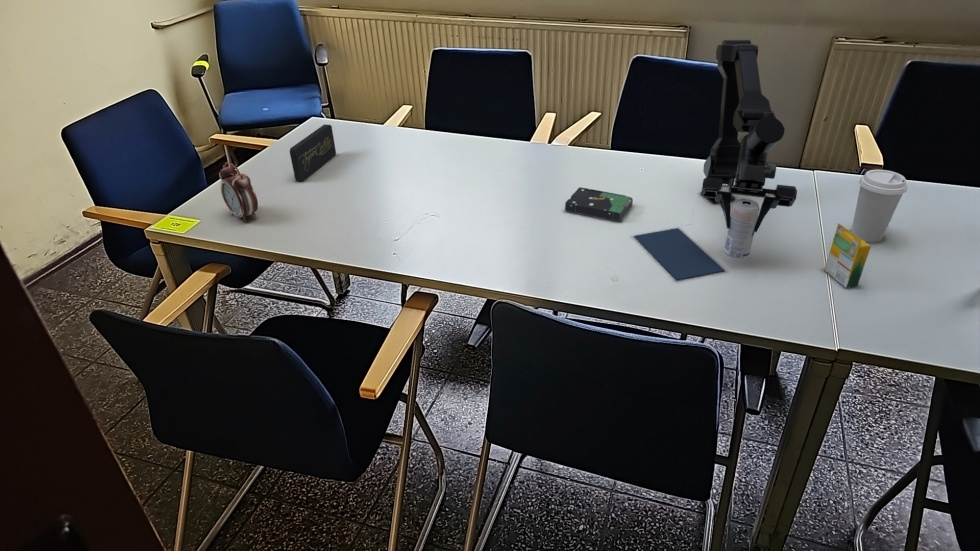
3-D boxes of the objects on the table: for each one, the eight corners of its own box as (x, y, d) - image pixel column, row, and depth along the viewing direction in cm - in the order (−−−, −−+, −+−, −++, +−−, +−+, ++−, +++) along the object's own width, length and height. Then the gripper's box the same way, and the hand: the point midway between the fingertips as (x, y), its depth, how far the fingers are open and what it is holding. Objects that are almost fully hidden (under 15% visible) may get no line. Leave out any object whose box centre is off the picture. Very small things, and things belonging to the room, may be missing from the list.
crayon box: (858, 286, 136) (874, 237, 130) (845, 288, 136) (861, 239, 129) (835, 268, 142) (850, 220, 136) (823, 270, 142) (837, 222, 135)
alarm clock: (225, 213, 172) (211, 160, 164) (242, 207, 175) (228, 154, 167) (247, 226, 166) (233, 171, 158) (264, 219, 169) (251, 165, 161)
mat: (677, 229, 159) (677, 228, 158) (724, 271, 142) (724, 270, 142) (634, 236, 156) (634, 235, 156) (676, 280, 140) (676, 279, 140)
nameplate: (301, 182, 187) (294, 149, 182) (295, 182, 188) (288, 149, 182) (336, 154, 204) (331, 123, 199) (331, 154, 205) (325, 123, 199)
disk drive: (564, 212, 168) (620, 223, 162) (564, 202, 166) (621, 212, 160) (578, 196, 175) (632, 205, 170) (578, 186, 174) (633, 195, 168)
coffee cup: (870, 250, 148) (891, 189, 140) (834, 232, 155) (851, 173, 147) (898, 239, 152) (919, 179, 143) (861, 222, 159) (880, 164, 151)
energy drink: (749, 248, 145) (760, 200, 138) (749, 261, 141) (760, 211, 134) (724, 245, 147) (733, 196, 140) (723, 257, 142) (732, 208, 136)
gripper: (709, 141, 137) (697, 212, 134) (806, 150, 131) (796, 224, 129) (706, 161, 147) (695, 227, 145) (796, 170, 142) (786, 239, 139)
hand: (741, 229), depth 139 cm, fingers closed on energy drink, 5 cm apart
